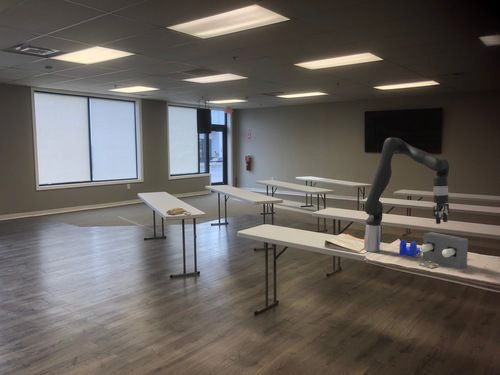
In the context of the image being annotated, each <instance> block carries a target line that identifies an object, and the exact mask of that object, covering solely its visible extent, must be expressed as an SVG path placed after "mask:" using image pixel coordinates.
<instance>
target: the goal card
mask: <svg viewBox="0 0 500 375" xmlns="http://www.w3.org/2000/svg"><path fill="white" fill-rule="evenodd" d="M418 266H419V267H423V268H426V267H427V269H430V270H432V269H435V268H438V265H434V264H429V263H427V262H422V263H420V264H418Z"/></svg>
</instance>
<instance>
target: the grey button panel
mask: <svg viewBox="0 0 500 375" xmlns="http://www.w3.org/2000/svg"><path fill="white" fill-rule="evenodd" d="M429 243H434V244H435V246H434V250H430V251H427V252H423V251H422V260H423V261H425V262H429V261H431V262H430V263H433V262H434V264H437V263H438V265H442V266H445V267H449V268H453V269H457V270H462V269H464V268H467V265H468V250H469V248H468V247H469V239H468V238H464V237H460V236H453V235H448V234H443V233H438V232H432V231H430V232H426V233H423V243H422V245H424V244H429ZM450 248H456V249H457V251H456V255H452V256H449V257H444V256H443V255H442V251H443V250H445V249H450Z"/></svg>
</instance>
